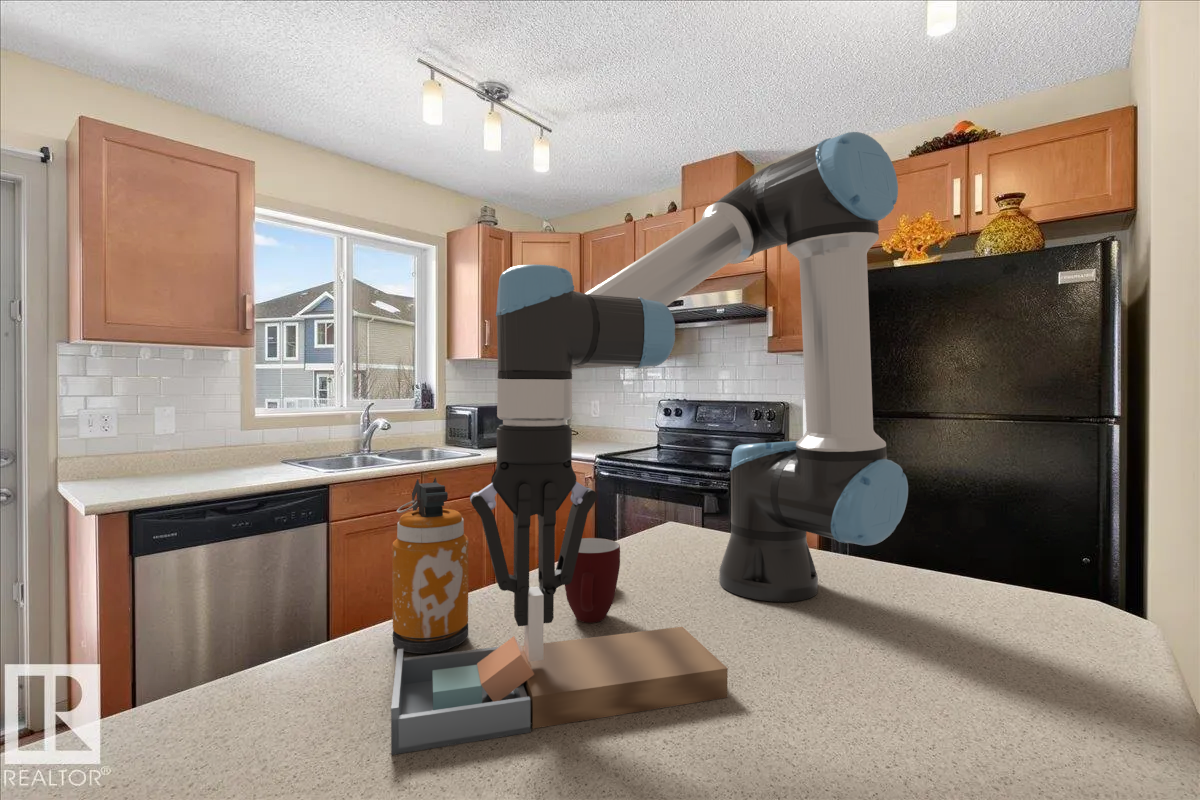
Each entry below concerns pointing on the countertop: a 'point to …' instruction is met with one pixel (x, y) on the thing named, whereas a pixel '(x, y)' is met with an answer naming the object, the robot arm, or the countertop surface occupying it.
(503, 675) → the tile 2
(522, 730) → the box
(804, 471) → the robot arm
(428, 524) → the canister
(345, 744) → the countertop surface
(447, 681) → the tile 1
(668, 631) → the tan wooden flat box
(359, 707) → the countertop surface
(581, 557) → the mug
